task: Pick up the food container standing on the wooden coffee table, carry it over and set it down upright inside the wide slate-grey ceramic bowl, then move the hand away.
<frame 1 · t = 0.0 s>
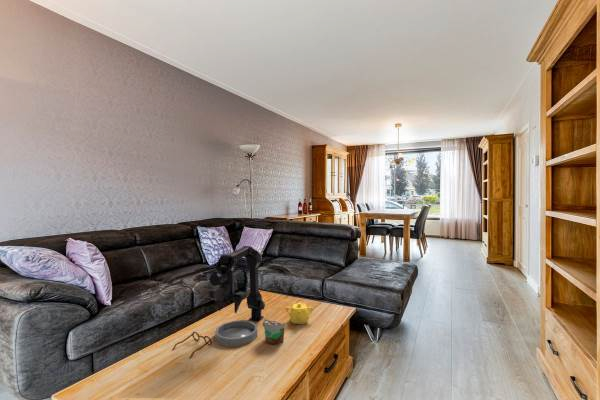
hand: (227, 311, 145), 15 cm above the table, tool pointing down, fingers open, 9 cm apart
glasses: (191, 349, 139), on the table
bowl: (236, 335, 151), on the table
food container: (271, 343, 144), on the table
teapot: (299, 322, 168), on the table
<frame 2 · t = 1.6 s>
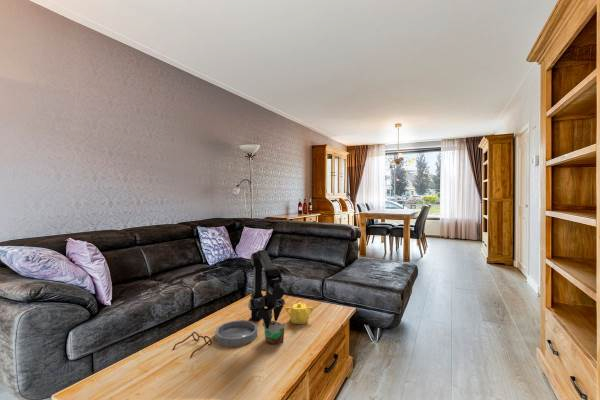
hand: (271, 324, 144), 9 cm above the table, tool pointing down, fingers open, 9 cm apart
nothing on the table moved.
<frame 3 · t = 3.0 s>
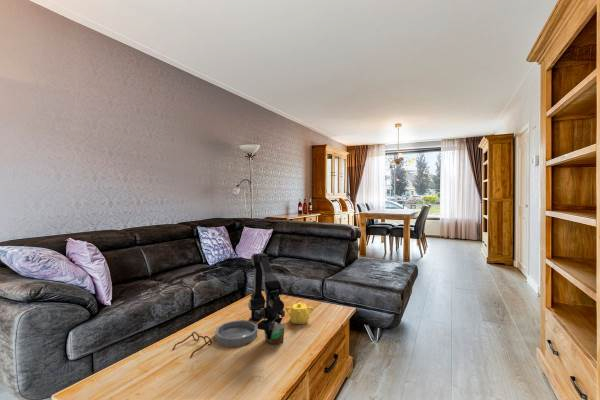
hand: (271, 336, 144), 3 cm above the table, tool pointing down, fingers closed on food container, 6 cm apart
food container: (271, 343, 144), on the table, touching gripper
everything else where it was.
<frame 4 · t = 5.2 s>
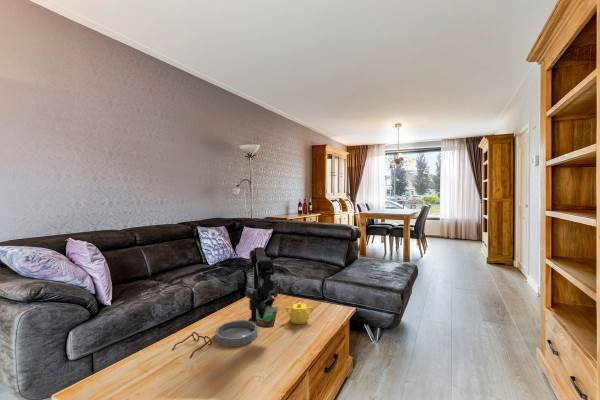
hand: (264, 316, 145), 12 cm above the table, tool pointing down, fingers closed on food container, 6 cm apart
food container: (262, 326, 144), point 8 cm above the table, touching gripper
everything else where it was.
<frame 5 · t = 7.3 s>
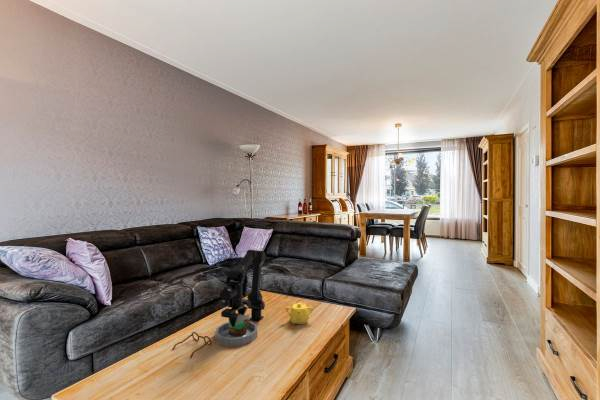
hand: (236, 324, 151), 6 cm above the table, tool pointing down, fingers closed on food container, 6 cm apart
food container: (234, 334, 150), point 1 cm above the table, touching bowl, gripper
everything else where it was.
when the fingers open (6 cm above the table, at t = 8.2 s): food container stays where it is, resting on bowl.
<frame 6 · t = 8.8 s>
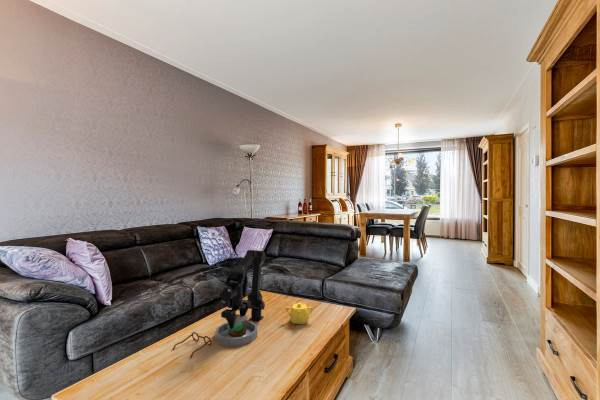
hand: (236, 325, 151), 6 cm above the table, tool pointing down, fingers open, 9 cm apart
food container: (234, 335, 150), point 1 cm above the table, touching bowl
everything else where it was.
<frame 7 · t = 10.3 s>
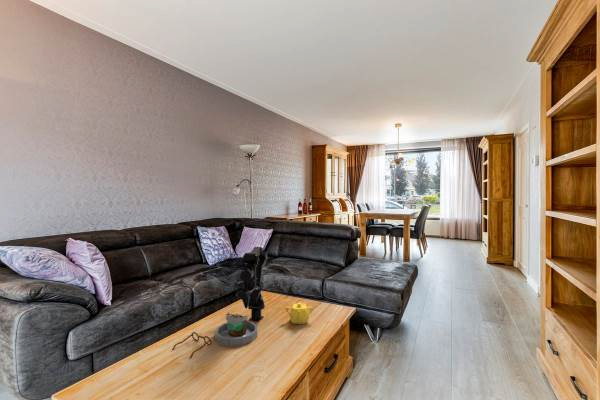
hand: (250, 305, 158), 13 cm above the table, tool pointing down, fingers open, 9 cm apart
nothing on the table moved.
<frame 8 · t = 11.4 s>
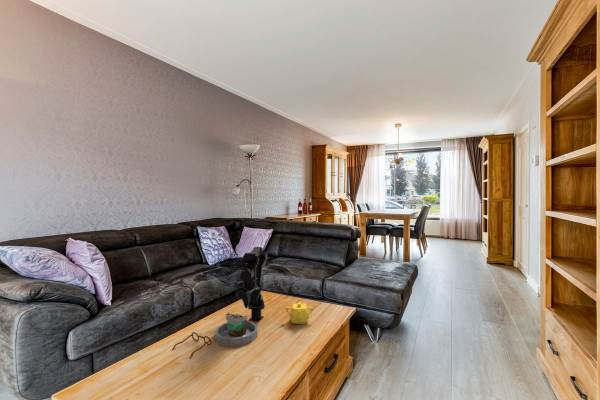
hand: (250, 305, 158), 13 cm above the table, tool pointing down, fingers open, 9 cm apart
nothing on the table moved.
at the end: food container inside the target area on the bowl (1.3 cm from its centre), point 0.6 cm above the bowl's base; food container tilted 0°; the gripper is holding nothing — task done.
